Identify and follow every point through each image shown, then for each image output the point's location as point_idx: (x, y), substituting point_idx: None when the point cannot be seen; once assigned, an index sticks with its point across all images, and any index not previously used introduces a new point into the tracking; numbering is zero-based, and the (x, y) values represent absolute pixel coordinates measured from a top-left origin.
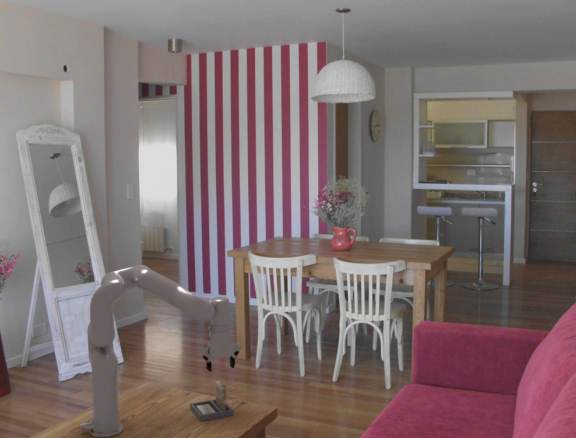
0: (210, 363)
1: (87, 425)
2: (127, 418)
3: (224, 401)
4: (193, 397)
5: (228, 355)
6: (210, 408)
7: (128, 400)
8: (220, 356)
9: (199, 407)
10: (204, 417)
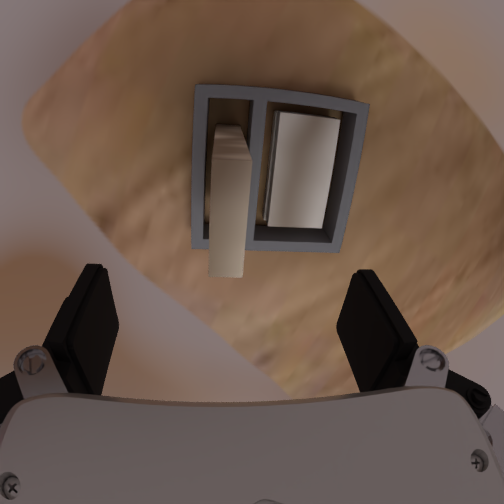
0: (403, 330)
1: None
2: (477, 264)
3: (225, 137)
4: (262, 332)
5: (118, 398)
6: (281, 173)
7: None
8: (308, 402)
9: (319, 207)
10: (346, 99)
